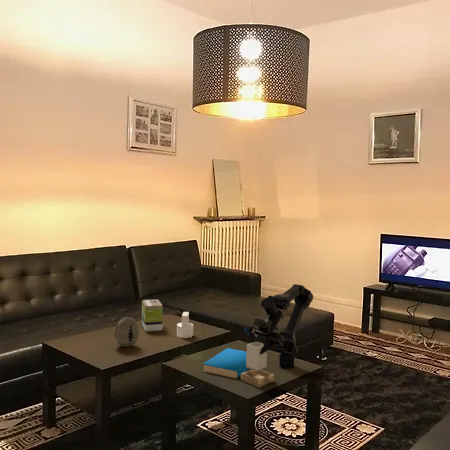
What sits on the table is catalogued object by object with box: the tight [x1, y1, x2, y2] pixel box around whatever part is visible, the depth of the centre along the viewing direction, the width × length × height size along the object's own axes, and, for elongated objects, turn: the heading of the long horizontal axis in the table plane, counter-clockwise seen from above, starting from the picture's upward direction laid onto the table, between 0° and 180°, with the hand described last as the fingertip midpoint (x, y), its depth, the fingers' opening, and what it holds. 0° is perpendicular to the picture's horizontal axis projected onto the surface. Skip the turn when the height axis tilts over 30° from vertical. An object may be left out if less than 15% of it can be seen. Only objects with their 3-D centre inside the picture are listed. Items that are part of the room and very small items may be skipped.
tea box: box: [141, 299, 164, 332], centre depth 282 cm, size 15×10×15 cm
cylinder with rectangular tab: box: [176, 311, 194, 339], centre depth 268 cm, size 9×9×12 cm
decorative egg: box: [114, 316, 140, 348], centre depth 246 cm, size 12×12×15 cm
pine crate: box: [240, 369, 275, 388], centre depth 208 cm, size 10×10×3 cm
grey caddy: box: [246, 341, 268, 371], centre depth 206 cm, size 6×6×10 cm
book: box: [203, 347, 250, 379], centre depth 224 cm, size 17×4×25 cm
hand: (254, 352), depth 205 cm, fingers closed on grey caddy, 6 cm apart
